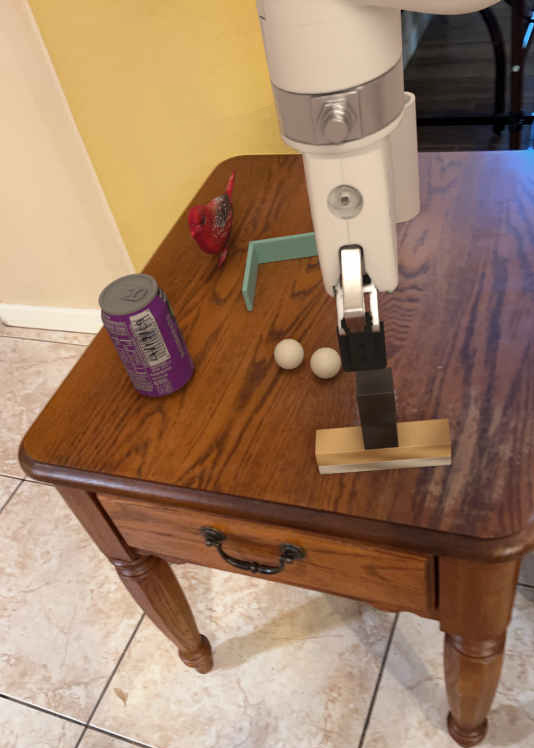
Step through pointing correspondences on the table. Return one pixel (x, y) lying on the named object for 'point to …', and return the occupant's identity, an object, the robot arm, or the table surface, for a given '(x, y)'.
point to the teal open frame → (274, 257)
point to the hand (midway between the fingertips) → (364, 324)
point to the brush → (381, 434)
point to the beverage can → (146, 334)
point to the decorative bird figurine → (213, 223)
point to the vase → (406, 163)
